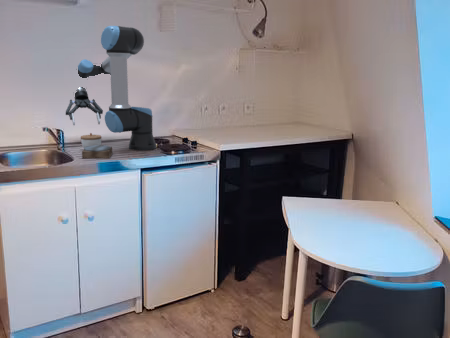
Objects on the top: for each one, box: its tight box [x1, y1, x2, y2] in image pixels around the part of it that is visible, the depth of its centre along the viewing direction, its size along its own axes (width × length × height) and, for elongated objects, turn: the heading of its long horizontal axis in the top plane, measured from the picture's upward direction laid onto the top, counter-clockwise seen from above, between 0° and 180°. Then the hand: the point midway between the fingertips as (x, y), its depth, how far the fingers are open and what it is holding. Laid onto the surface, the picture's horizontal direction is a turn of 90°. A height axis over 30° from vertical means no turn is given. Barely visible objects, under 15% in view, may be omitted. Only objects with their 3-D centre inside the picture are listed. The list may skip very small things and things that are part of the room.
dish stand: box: [81, 144, 113, 159], centre depth 213 cm, size 13×13×4 cm
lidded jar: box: [80, 132, 102, 149], centre depth 226 cm, size 11×11×9 cm
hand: (86, 123), depth 231 cm, fingers open, 13 cm apart
